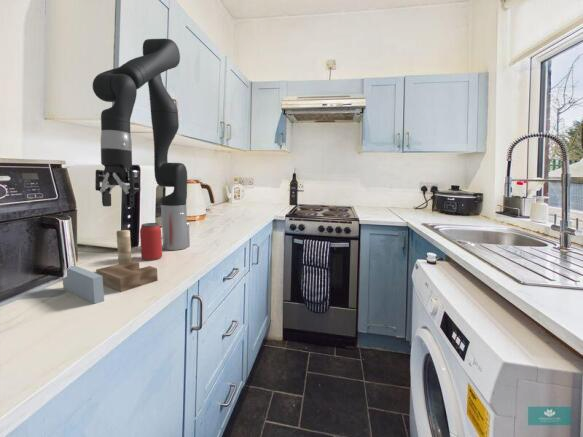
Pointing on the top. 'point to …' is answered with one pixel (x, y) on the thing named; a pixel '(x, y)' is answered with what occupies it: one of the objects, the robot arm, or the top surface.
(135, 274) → the block
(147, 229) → the beer can
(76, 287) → the wall
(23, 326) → the top surface
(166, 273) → the top surface
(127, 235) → the dowel
